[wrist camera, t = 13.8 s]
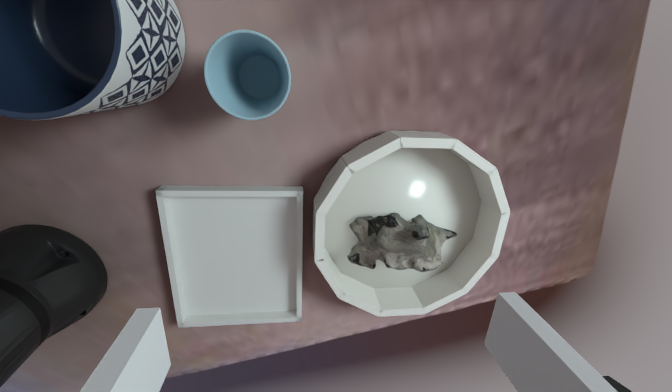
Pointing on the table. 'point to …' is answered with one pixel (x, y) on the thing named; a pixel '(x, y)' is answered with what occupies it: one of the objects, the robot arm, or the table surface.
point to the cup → (247, 74)
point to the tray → (233, 253)
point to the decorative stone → (398, 242)
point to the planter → (86, 55)
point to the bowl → (409, 201)
